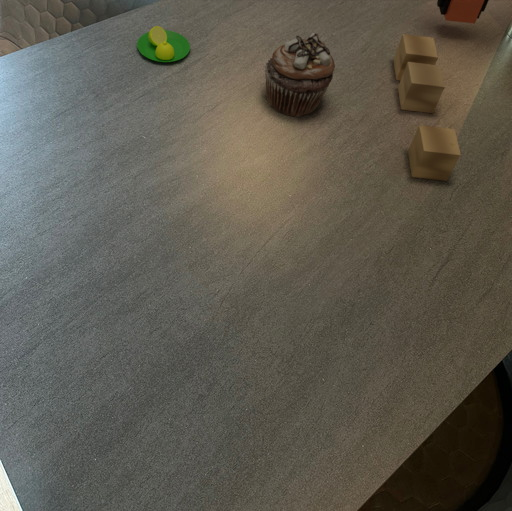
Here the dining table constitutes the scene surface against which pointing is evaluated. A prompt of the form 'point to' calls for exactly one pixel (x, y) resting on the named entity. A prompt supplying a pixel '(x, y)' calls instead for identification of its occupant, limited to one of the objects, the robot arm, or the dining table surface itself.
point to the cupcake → (298, 75)
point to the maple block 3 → (433, 153)
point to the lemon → (163, 45)
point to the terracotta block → (463, 10)
